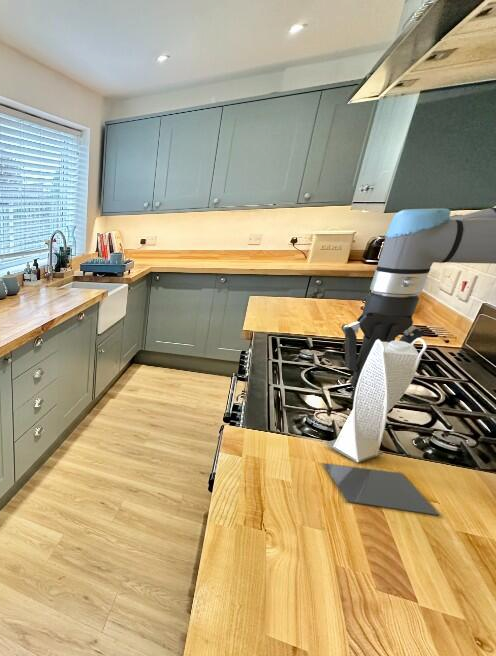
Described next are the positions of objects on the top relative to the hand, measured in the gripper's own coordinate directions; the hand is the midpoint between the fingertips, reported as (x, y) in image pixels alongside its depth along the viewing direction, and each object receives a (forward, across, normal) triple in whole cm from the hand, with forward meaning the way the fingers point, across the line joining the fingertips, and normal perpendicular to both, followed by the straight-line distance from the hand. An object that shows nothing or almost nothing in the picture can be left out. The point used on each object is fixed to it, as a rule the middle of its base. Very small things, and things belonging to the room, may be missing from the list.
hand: (357, 400), depth 91 cm
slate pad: (+11, 0, -18) cm, 21 cm away
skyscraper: (+10, 0, -5) cm, 11 cm away
